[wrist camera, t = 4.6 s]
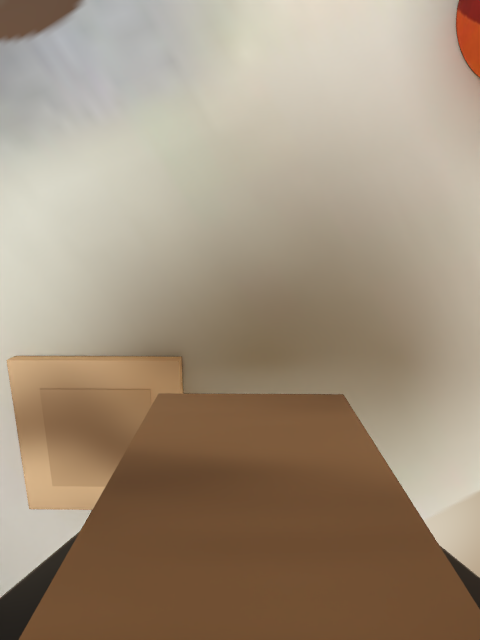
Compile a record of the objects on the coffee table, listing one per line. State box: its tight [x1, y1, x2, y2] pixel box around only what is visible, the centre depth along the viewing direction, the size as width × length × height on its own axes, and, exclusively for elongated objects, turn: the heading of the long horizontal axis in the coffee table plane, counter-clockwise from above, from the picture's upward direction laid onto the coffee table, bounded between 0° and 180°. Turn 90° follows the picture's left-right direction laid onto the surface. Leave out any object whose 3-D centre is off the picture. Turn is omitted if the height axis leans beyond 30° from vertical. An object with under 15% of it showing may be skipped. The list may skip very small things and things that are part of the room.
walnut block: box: [19, 393, 480, 640], centre depth 6 cm, size 4×4×5 cm
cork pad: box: [7, 356, 183, 510], centre depth 17 cm, size 8×8×1 cm
